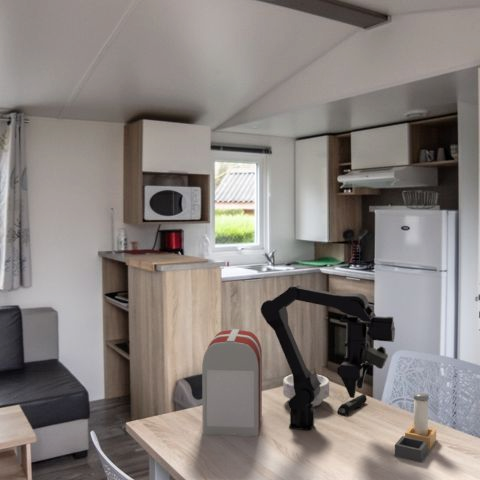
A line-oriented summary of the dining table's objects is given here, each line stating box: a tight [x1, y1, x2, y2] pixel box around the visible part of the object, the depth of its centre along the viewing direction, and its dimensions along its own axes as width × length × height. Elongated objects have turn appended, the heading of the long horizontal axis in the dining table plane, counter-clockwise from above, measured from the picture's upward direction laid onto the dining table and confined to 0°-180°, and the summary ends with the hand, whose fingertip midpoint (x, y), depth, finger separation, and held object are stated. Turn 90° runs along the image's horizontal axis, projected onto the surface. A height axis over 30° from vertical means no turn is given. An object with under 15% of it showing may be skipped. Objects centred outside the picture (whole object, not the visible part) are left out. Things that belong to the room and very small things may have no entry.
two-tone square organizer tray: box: [392, 424, 439, 464], centre depth 148 cm, size 16×8×4 cm, turn 147°
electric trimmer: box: [337, 393, 367, 417], centre depth 181 cm, size 4×16×3 cm, turn 140°
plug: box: [413, 392, 429, 436], centre depth 152 cm, size 4×4×13 cm
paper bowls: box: [282, 373, 330, 407], centre depth 186 cm, size 15×15×8 cm
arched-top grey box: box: [201, 328, 263, 437], centre depth 168 cm, size 16×18×27 cm
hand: (356, 392), depth 159 cm, fingers open, 9 cm apart
